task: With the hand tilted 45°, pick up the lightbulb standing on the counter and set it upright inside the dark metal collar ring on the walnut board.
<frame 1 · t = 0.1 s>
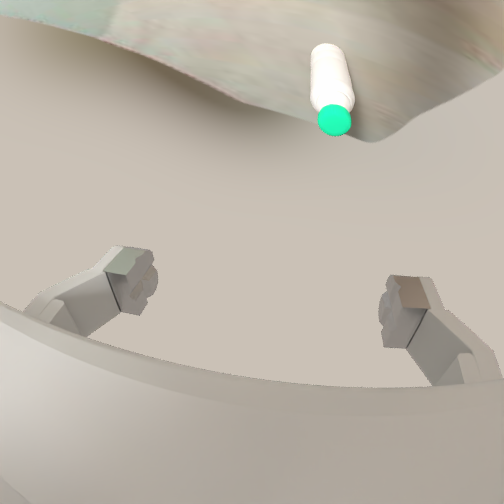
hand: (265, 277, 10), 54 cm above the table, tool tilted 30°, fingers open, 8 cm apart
water bottle: (327, 56, 47), on the table
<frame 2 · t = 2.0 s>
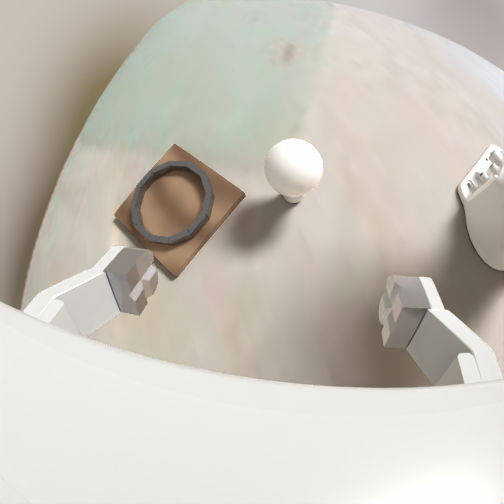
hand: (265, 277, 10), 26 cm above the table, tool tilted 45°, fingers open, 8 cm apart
lightbulb: (293, 195, 38), on the table
board: (176, 206, 40), on the table
collar: (170, 201, 38), on the board, point 1 cm above the table
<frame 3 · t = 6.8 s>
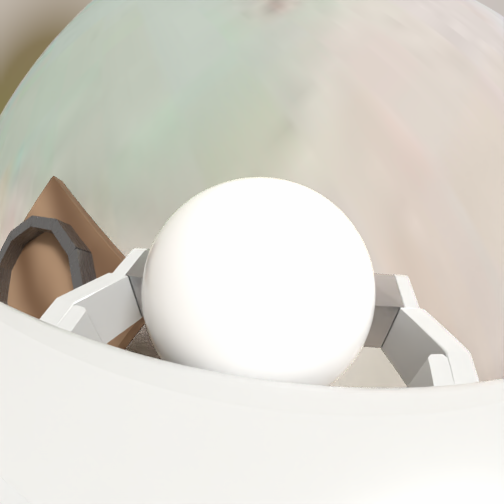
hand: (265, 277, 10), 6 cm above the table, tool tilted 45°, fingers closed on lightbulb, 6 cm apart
lightbulb: (274, 302, 16), on the table, touching gripper
board: (52, 302, 18), on the table
collar: (33, 300, 16), on the board, point 1 cm above the table
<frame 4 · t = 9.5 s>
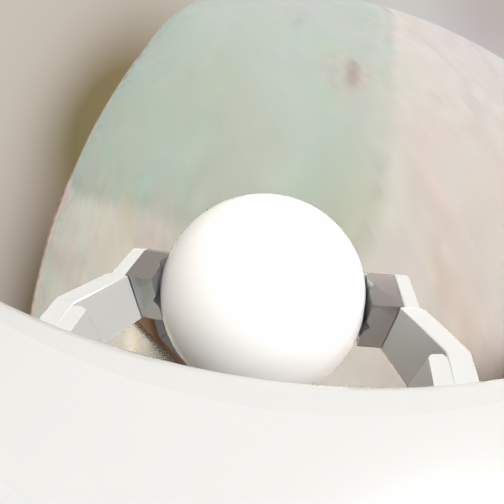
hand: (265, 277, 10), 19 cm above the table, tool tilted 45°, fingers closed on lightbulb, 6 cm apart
lightbulb: (276, 300, 17), point 11 cm above the table, touching gripper
board: (215, 305, 29), on the table
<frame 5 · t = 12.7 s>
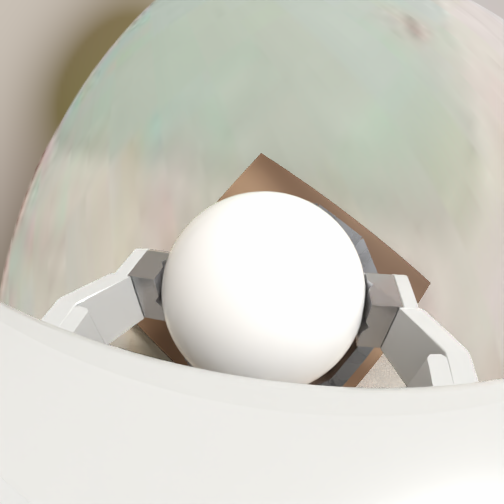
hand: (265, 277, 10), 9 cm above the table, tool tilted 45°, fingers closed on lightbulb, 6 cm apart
lightbulb: (276, 301, 17), point 1 cm above the table, touching board, gripper
board: (277, 304, 18), on the table
collar: (275, 303, 16), on the board, point 1 cm above the table
when the fingers open (9 cm above the table, at t = 13.0 s): lightbulb stays where it is, resting on board.
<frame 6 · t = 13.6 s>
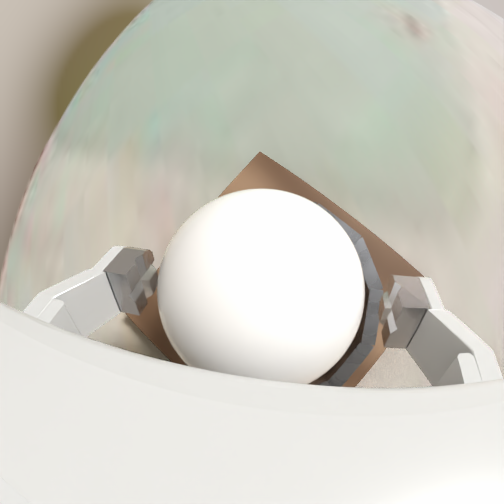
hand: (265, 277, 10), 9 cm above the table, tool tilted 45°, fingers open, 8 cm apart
lightbulb: (274, 301, 17), point 1 cm above the table, touching board
board: (276, 303, 18), on the table
collar: (274, 302, 16), on the board, point 1 cm above the table
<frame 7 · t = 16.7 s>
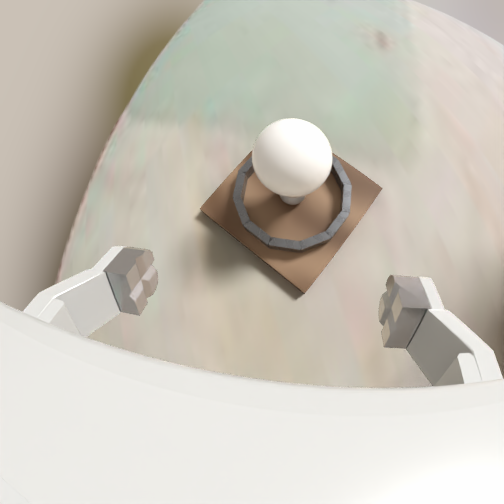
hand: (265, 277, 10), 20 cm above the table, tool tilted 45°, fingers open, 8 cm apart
lightbulb: (292, 195, 30), point 1 cm above the table, touching board
board: (292, 200, 31), on the table
collar: (292, 193, 29), on the board, point 1 cm above the table
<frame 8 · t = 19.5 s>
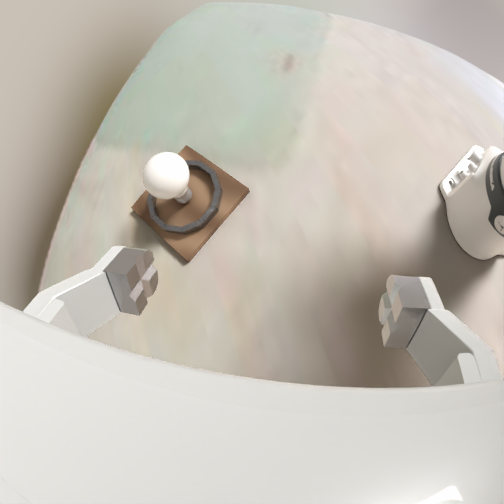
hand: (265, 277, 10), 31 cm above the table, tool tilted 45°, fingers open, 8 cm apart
lightbulb: (185, 197, 44), point 1 cm above the table, touching board
board: (188, 200, 45), on the table
collar: (183, 195, 43), on the board, point 1 cm above the table
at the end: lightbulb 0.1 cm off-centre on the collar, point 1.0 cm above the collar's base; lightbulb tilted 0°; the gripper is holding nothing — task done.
